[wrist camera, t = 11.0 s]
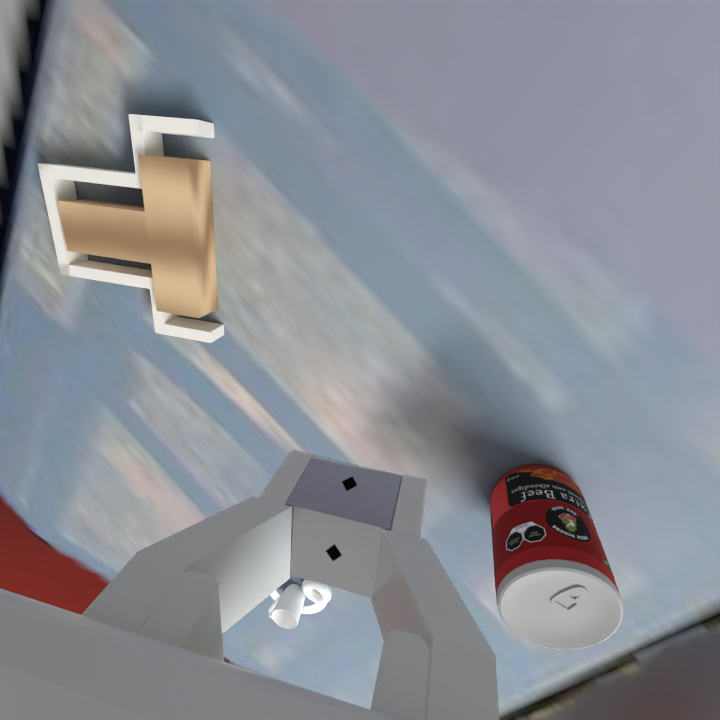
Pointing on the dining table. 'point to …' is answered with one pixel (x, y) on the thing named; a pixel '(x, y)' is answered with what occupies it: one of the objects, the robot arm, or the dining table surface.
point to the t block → (157, 232)
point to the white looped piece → (298, 602)
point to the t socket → (144, 142)
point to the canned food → (550, 562)
